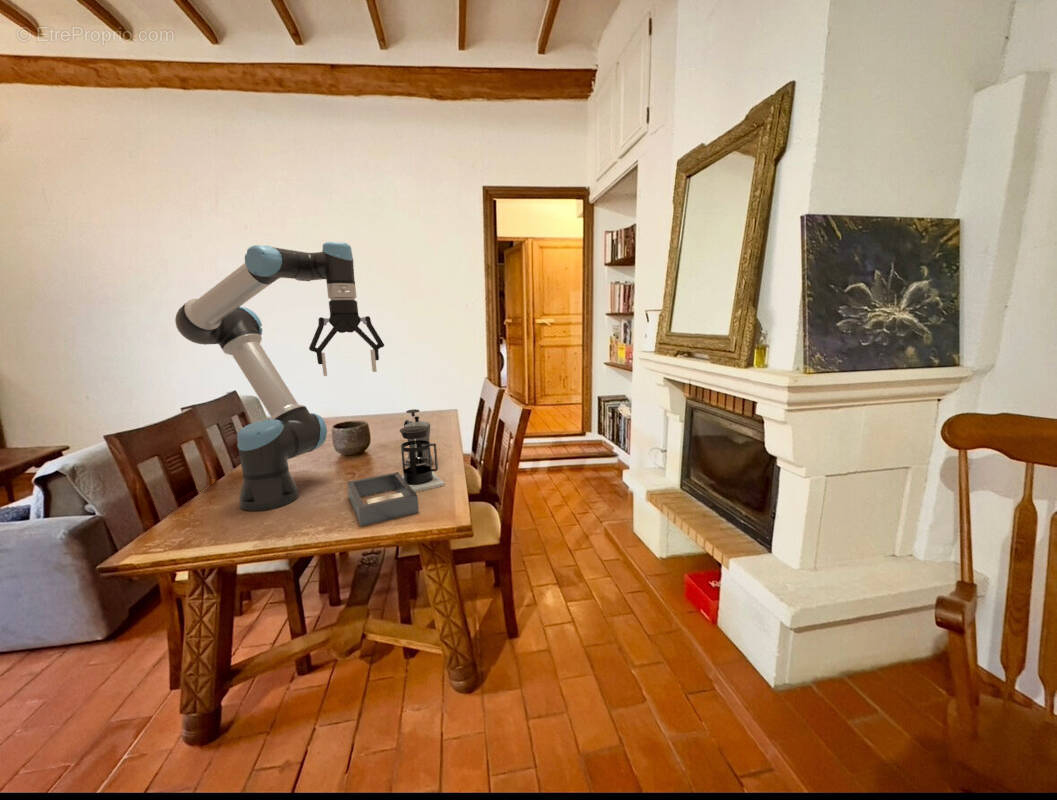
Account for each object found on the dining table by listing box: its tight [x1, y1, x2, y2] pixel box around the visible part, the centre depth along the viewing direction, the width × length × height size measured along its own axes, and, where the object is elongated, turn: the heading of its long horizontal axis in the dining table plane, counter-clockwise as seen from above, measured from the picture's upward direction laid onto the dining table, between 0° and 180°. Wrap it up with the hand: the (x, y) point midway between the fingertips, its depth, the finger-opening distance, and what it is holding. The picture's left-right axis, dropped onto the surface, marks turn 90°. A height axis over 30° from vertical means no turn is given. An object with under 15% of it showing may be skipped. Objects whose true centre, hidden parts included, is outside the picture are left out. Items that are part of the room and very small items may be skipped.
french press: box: [399, 409, 439, 485], centre depth 140 cm, size 12×9×23 cm
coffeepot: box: [403, 415, 434, 467], centre depth 159 cm, size 15×9×18 cm, turn 45°
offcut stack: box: [366, 492, 403, 504], centre depth 119 cm, size 11×4×5 cm, turn 120°
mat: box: [401, 471, 446, 493], centre depth 142 cm, size 11×14×1 cm
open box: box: [346, 471, 420, 528], centre depth 125 cm, size 15×22×5 cm
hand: (350, 373), depth 130 cm, fingers open, 13 cm apart
